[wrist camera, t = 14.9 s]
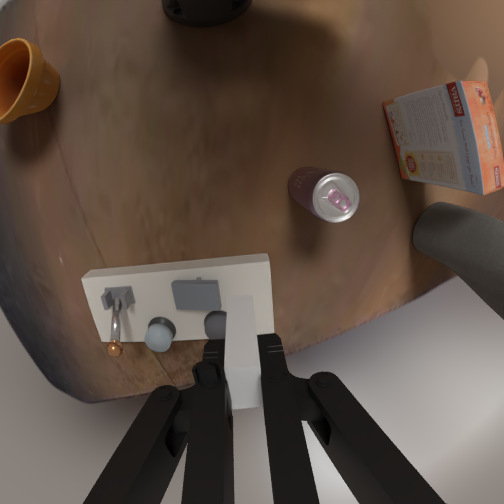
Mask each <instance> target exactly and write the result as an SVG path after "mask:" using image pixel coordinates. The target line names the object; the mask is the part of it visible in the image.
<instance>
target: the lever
mask: <svg viewBox="0 0 504 504" xmlns="http://www.w3.org/2000/svg"><path fill="white" fill-rule="evenodd" d="M121 315H122V302H121V299H120V298H119V297H116V298H114V300H113V308H112V321H111V337H110V342H109V343H108V345H107V351H108V353H109V354H110V355H111V356H114V357H117V356H120V355H121V354H122V352H123V346H122V344H121V343H120V332H121Z"/></svg>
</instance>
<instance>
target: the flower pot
mask: <svg viewBox="0 0 504 504" xmlns="http://www.w3.org/2000/svg"><path fill="white" fill-rule="evenodd" d="M59 85H60V77H59V74H58V72H57V71H56V70H55V69H54V68H53V67H52V66H51V65H50V64H49V63H48V62H47V61H46V60H45V59H44V58H43V55H42V52H41V50H40V49H39V48H38V47H37V46H36V45H34V44H33V43H31V42H29V41H27V40H24V39H20V38H17V39H13V40H10V41H8V42H6V43H5V44H3V45H2V46H1V47H0V124H6V123H10V122H12V121H14V120H15V119H17V118H18V117H19V116H23V115H28V114H32V113H36V112H40V111H43V110H45V109H46V108H47V107H48V106H50V104H51V103H52V102H53V101H54V99H55V97H56V96H57V93H58V90H59Z"/></svg>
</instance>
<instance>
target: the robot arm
mask: <svg viewBox="0 0 504 504" xmlns="http://www.w3.org/2000/svg"><path fill="white" fill-rule="evenodd" d="M161 1H162V4H163V6H164V8H165V10H166V12H167V14H168V15H169V16H170V17H171V18H172V19H173V20H175V21H177V22H179V23H181V24H184V25H187V26H193V27H210V26H215V25H220V24H223V23H226V22H228V21H230V20H232V19H234V18H236V17H237V16H239V15H240V14H241V13H242V12H243V11H244V10H245V9H246V8H247V7H248V5H249V3H250V1H251V0H161ZM192 373H193V376H194V380H195V383H196V384H195V385H194V386H192V387H190V388H187V389H183V390H178V389H177V388H176V387H174V386H171V385H164V386H160V387H158V388H156V389H155V390H154V391H153V392H152V393H151V395H150V396H149V398H148V399H147V401H146V403H145V405H144V406H143V407H142V409H141V411H140V412H139V414H138V416H137V417H136V419H135V420H134V422H133V423H132V425H131V427H130V428H129V430H128V431H127V433H126V435H125V436H124V438H123V439H122V441H121V443H120V444H119V446H118V447H117V449H116V451H115V452H114V454H113V455H112V457H111V459H110V460H109V462H108V463H107V465H106V467H105V468H104V470H103V472H102V473H101V475H100V477H99V478H98V480H97V481H96V483H95V485H94V486H93V488H92V489H91V491H90V493H89V494H88V496H87V498H86V499H85V501H84V503H83V504H160V503H161V501H162V499H163V496H164V494H165V492H166V490H167V488H168V485H169V483H170V481H171V479H172V476H173V474H174V472H175V470H176V468H177V465H178V463H179V461H180V458H181V456H182V454H183V451H184V449H185V447H186V445H187V443H188V445H187V454H186V463H185V472H184V481H183V492H182V501H181V504H234V458H233V416H232V410H231V409H244V408H257V407H263V408H264V418H265V426H266V436H267V446H268V455H269V463H270V473H271V482H272V492H273V500H274V504H319V499H318V494H317V490H316V485H315V481H314V476H313V471H312V467H311V462H310V458H309V453H308V449H307V444H306V440H305V435H304V431H303V426H302V422H301V420H303V421H307V422H308V424H309V426H310V428H311V429H312V431H313V432H314V434H315V436H316V437H317V439H318V440H319V442H320V444H321V445H322V447H323V448H324V450H325V452H326V453H327V455H328V456H329V458H330V459H331V461H332V463H333V464H334V466H335V467H336V469H337V470H338V472H339V473H340V475H341V477H342V478H343V480H344V481H345V483H346V484H347V486H348V487H349V489H350V490H351V492H352V493H353V495H354V496H355V498H356V499H357V501H358V502H359V504H446V503H445V502H444V501H443V500H442V499H441V498H440V497H439V496H438V494H437V493H436V492H435V491H434V490H433V489H432V487H431V486H430V485H429V484H428V483H427V482H426V480H424V478H423V477H422V476H421V475H420V474H419V472H418V471H417V470H416V469H415V468H414V467H413V465H412V464H411V463H410V462H409V461H408V460H407V458H406V457H405V456H404V455H403V454H402V453H401V451H400V450H399V449H398V448H397V447H396V446H395V445H394V443H393V442H392V441H391V440H390V439H389V437H388V436H387V435H386V434H385V433H384V432H383V431H382V429H381V428H380V427H379V426H378V424H377V423H376V422H375V421H374V420H373V419H372V417H371V416H370V415H369V414H368V413H367V411H366V410H365V409H364V408H363V407H362V405H361V404H360V403H359V402H358V401H357V400H356V398H355V397H354V396H353V395H352V393H351V392H350V391H349V390H348V389H347V387H346V386H345V385H344V384H343V383H342V382H341V380H340V379H339V378H338V377H337V376H336V375H335V374H333V373H330V372H318V373H315V374H313V375H312V376H311V377H310V379H303V378H298V377H295V376H293V375H292V374H291V373H289V371H288V368H287V364H286V360H285V355H284V351H283V347H282V342H281V338H280V337H279V336H278V335H277V334H276V333H273V334H264V335H257V332H256V324H255V315H254V306H253V297H252V295H242V296H231V297H228V299H227V317H226V337H225V339H214V340H209V341H208V342H207V343H206V345H205V346H204V353H203V360H202V361H201V362H199V363H197V364H196V365H195V366H194V367H193V369H192Z"/></svg>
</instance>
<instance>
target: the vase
mask: <svg viewBox="0 0 504 504" xmlns="http://www.w3.org/2000/svg"><path fill="white" fill-rule="evenodd" d="M412 239H413V244H414V246H415V248H416V249H417V250H418V251H420V252H422V253H424V254H425V255H427V256H429V257H431V258H433V259H435V260H436V261H438V262H440V263H442V264H444V265H446V266H448V267H449V268H450V269H452V270H453V271H454V272H455V273H456V274H457V275H458V276H459V277H460V278H461V279H462V280H463V281H464V282H465V283H466V284H467V285H468V286H470V288H471V289H472V290H473V291H474V292H475V293H476V294H477V295H478V296H479V297H480V298H481V299H483V301H484V302H485V303H486V304H487V305H489V306H490V307H491V308H492V309H493V310H494V311H495V312H496V313H497V314H498V315H499V316H500V317H501V318H503V319H504V222H502V221H500V220H498V219H496V218H494V217H491V216H489V215H486V214H484V213H481V212H478V211H475V210H472V209H469V208H465V207H462V206H458V205H454V204H450V203H446V202H437V203H434V204H432V205H431V206H429V207H428V208H427V209H426V210H425V211H424V212H423V213H422V214H421V216H420V217H419V219H418V221H417V223H416V225H415V227H414V231H413V236H412Z"/></svg>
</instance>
